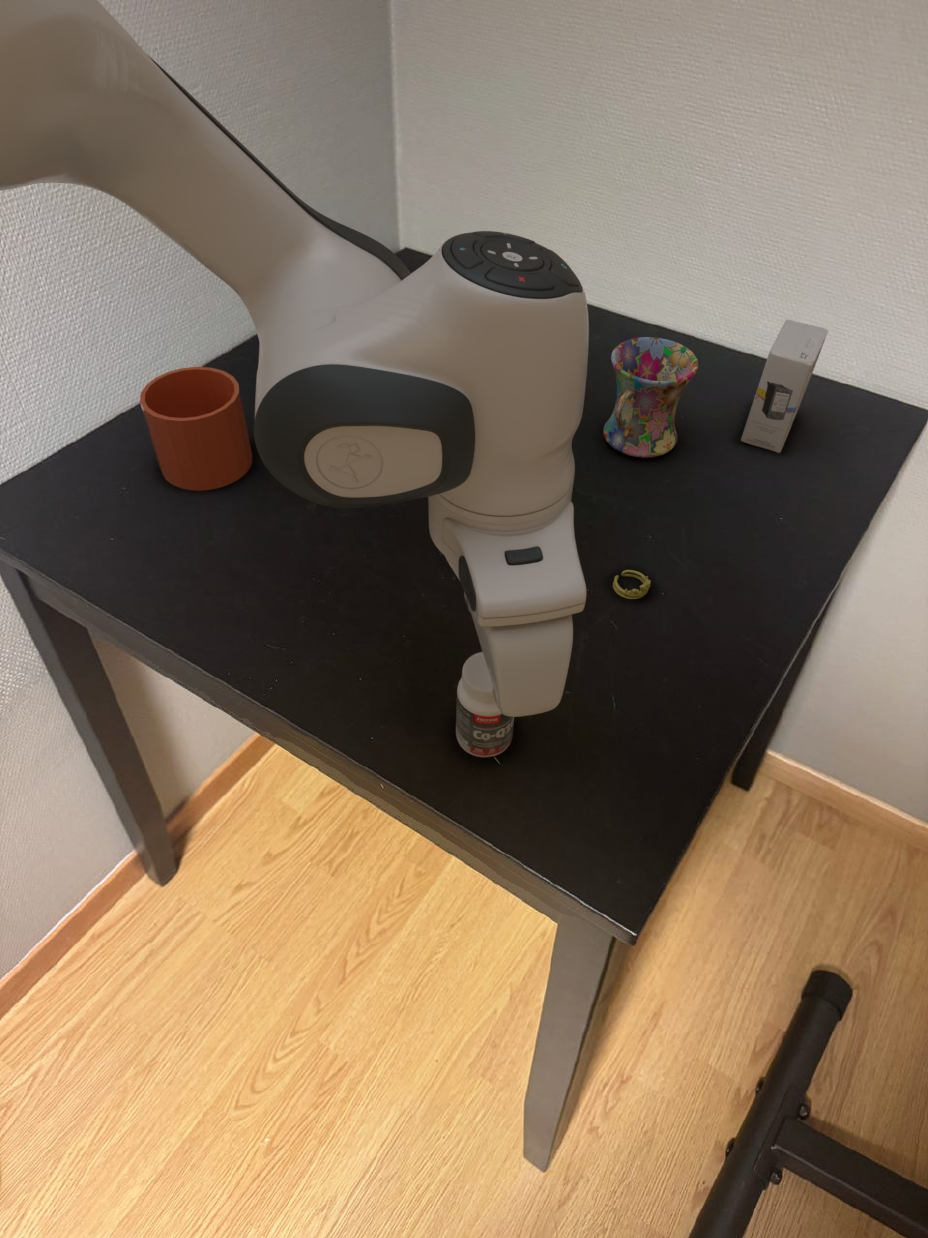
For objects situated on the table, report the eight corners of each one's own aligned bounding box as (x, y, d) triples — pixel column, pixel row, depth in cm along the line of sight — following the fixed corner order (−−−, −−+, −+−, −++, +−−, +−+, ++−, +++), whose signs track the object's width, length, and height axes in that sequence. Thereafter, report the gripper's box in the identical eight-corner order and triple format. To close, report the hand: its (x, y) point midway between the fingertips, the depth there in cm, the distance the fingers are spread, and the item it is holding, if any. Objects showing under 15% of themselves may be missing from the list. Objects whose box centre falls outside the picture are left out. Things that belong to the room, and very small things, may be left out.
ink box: (756, 406, 106) (784, 315, 97) (797, 417, 104) (830, 326, 96) (738, 443, 100) (766, 351, 92) (781, 456, 99) (814, 363, 90)
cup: (160, 496, 92) (138, 425, 85) (162, 441, 99) (141, 371, 92) (255, 485, 94) (240, 414, 87) (250, 432, 100) (237, 362, 94)
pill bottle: (472, 767, 70) (475, 704, 63) (446, 724, 72) (446, 660, 66) (523, 745, 71) (530, 682, 65) (495, 704, 74) (500, 640, 68)
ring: (627, 609, 83) (639, 593, 81) (605, 584, 84) (616, 568, 81) (650, 593, 85) (663, 577, 82) (628, 569, 86) (640, 552, 83)
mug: (622, 408, 105) (637, 327, 97) (692, 436, 101) (713, 354, 93) (571, 456, 98) (582, 373, 90) (644, 487, 94) (662, 404, 87)
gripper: (419, 418, 60) (424, 562, 70) (486, 631, 47) (480, 772, 57) (507, 408, 61) (499, 551, 71) (597, 614, 48) (571, 755, 58)
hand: (491, 651), depth 64 cm, fingers open, 8 cm apart
